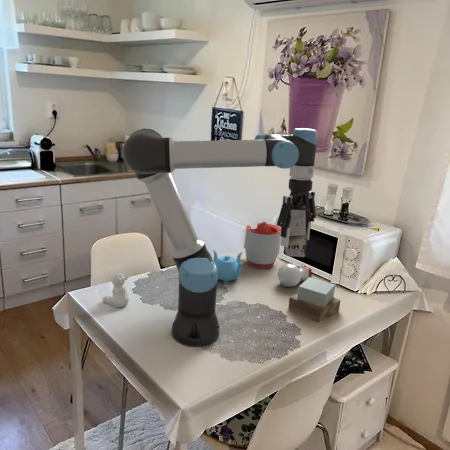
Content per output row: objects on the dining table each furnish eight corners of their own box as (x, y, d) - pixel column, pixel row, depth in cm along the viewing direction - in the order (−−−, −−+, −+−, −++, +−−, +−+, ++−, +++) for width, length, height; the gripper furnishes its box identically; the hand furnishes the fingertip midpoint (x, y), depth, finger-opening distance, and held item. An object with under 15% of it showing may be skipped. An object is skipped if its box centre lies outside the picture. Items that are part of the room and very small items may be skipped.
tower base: (318, 324, 147) (320, 311, 145) (288, 309, 155) (289, 297, 154) (338, 312, 156) (340, 300, 154) (308, 299, 164) (310, 287, 163)
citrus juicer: (258, 253, 205) (262, 213, 199) (284, 266, 192) (289, 224, 186) (233, 259, 196) (236, 218, 190) (259, 273, 183) (263, 229, 177)
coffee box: (305, 257, 141) (310, 210, 136) (285, 256, 141) (290, 209, 136) (301, 247, 149) (306, 202, 144) (283, 246, 149) (287, 201, 144)
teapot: (241, 273, 182) (243, 251, 179) (241, 287, 169) (243, 263, 166) (211, 271, 182) (212, 249, 179) (209, 284, 170) (210, 261, 167)
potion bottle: (275, 290, 172) (301, 286, 181) (292, 284, 164) (318, 281, 173) (270, 268, 174) (295, 265, 183) (286, 261, 167) (312, 259, 176)
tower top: (324, 307, 148) (326, 294, 146) (297, 298, 153) (298, 286, 151) (333, 297, 156) (335, 284, 155) (307, 289, 161) (309, 277, 159)
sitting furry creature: (127, 295, 157) (126, 265, 153) (137, 305, 150) (137, 274, 146) (101, 301, 151) (101, 270, 147) (111, 312, 145) (110, 280, 141)
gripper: (287, 184, 127) (281, 253, 134) (331, 176, 142) (324, 238, 149) (268, 179, 132) (263, 246, 139) (312, 172, 147) (306, 232, 154)
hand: (294, 242), depth 144 cm, fingers closed on coffee box, 10 cm apart
